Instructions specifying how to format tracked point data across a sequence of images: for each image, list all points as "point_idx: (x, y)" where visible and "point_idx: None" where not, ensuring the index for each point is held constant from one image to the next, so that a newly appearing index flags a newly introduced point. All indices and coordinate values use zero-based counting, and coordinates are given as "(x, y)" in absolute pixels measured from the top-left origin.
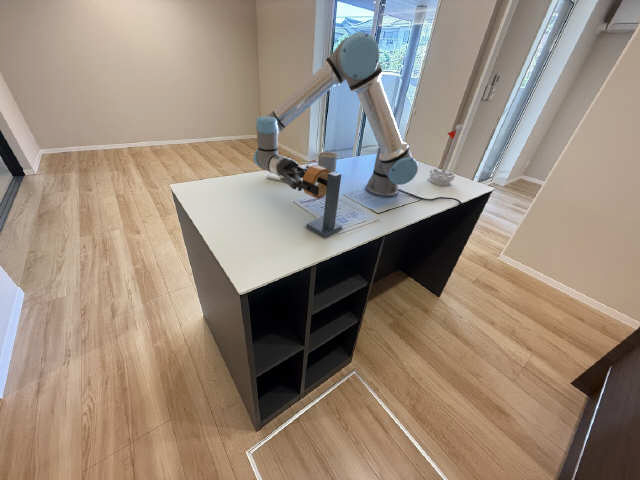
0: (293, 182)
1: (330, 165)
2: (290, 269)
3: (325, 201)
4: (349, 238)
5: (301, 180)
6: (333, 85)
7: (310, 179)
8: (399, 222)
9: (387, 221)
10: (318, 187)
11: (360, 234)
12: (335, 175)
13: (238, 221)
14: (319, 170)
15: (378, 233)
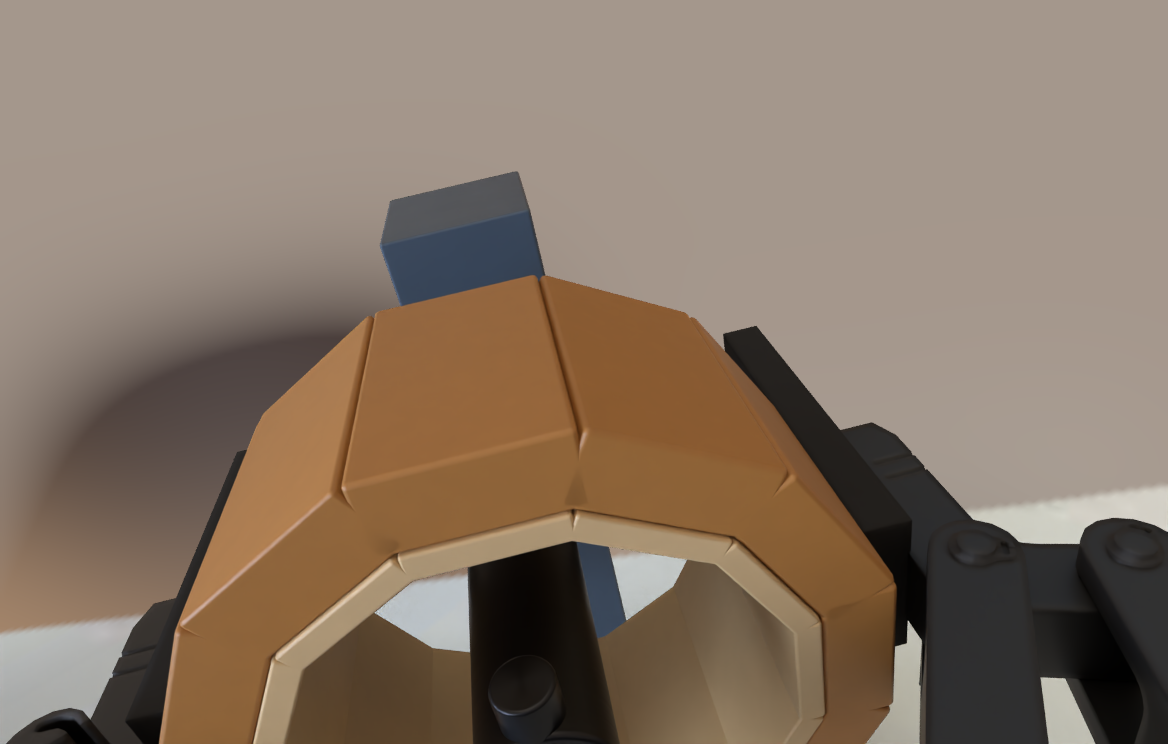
0: (1165, 538)
1: None
2: (1116, 493)
3: (611, 559)
4: None
5: (930, 563)
6: None
7: (769, 411)
8: (50, 642)
9: (83, 686)
10: (732, 340)
11: (427, 624)
12: (495, 180)
13: None
14: (557, 283)
15: None
